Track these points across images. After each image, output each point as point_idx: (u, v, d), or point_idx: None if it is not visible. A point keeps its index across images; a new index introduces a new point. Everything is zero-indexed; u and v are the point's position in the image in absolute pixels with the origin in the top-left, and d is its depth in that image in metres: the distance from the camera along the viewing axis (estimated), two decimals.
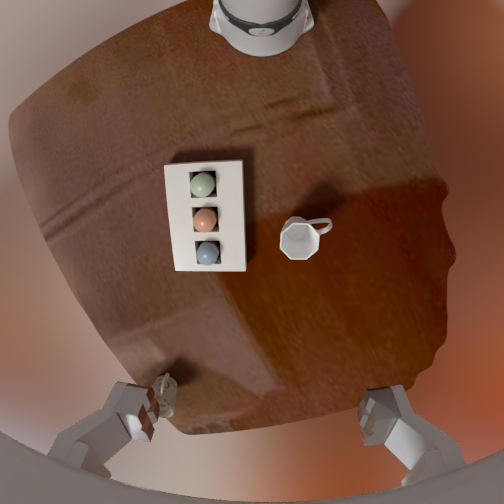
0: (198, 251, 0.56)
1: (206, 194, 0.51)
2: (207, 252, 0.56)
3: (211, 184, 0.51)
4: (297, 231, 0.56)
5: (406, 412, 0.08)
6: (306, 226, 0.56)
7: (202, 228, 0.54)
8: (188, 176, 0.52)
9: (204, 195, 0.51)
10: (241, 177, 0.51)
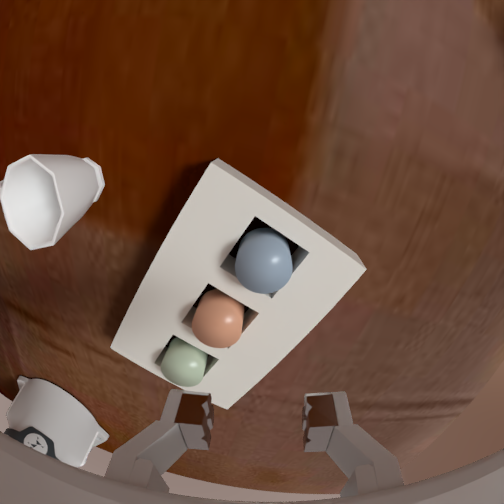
0: (273, 288, 0.22)
1: (180, 359, 0.25)
2: (255, 274, 0.21)
3: (163, 364, 0.25)
4: None
5: (344, 421, 0.08)
6: None
7: (228, 321, 0.23)
8: None
9: (184, 360, 0.25)
10: (119, 331, 0.26)
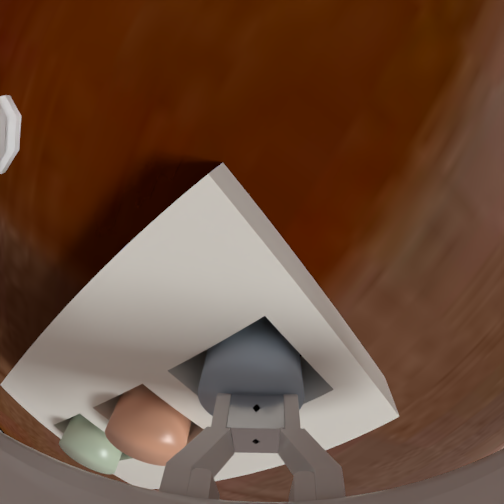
0: None
1: (86, 449, 0.13)
2: None
3: (62, 442, 0.13)
4: None
5: (291, 424, 0.08)
6: None
7: (165, 447, 0.11)
8: None
9: (91, 452, 0.13)
10: (10, 375, 0.13)
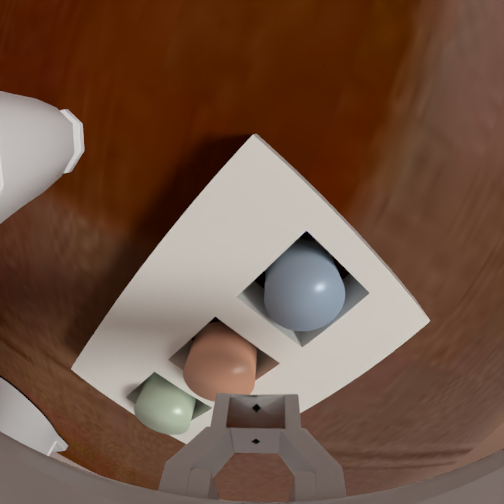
0: (312, 325, 0.15)
1: (161, 405, 0.17)
2: (292, 304, 0.15)
3: (137, 406, 0.17)
4: None
5: (291, 424, 0.08)
6: None
7: (238, 374, 0.15)
8: None
9: (167, 407, 0.17)
10: (83, 353, 0.18)
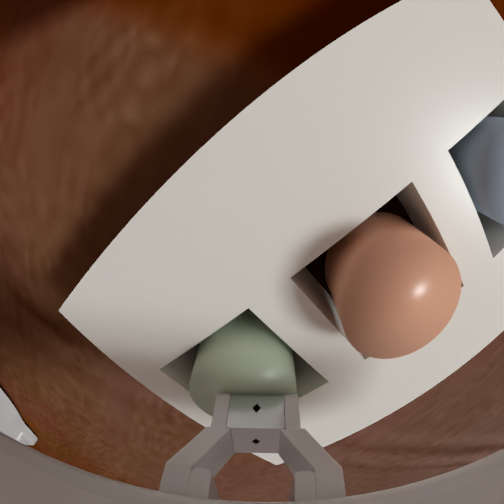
0: None
1: (259, 365, 0.10)
2: None
3: (203, 370, 0.10)
4: None
5: (291, 424, 0.08)
6: None
7: (444, 290, 0.08)
8: None
9: (270, 369, 0.10)
10: (92, 272, 0.10)
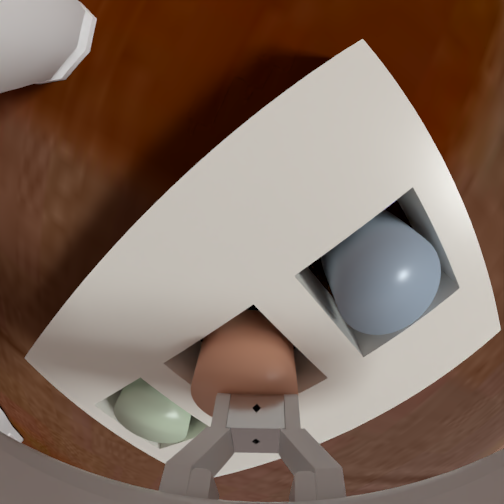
0: (389, 327, 0.10)
1: (154, 407, 0.12)
2: (374, 294, 0.09)
3: (120, 404, 0.13)
4: None
5: (291, 424, 0.08)
6: None
7: (277, 388, 0.10)
8: (170, 447, 0.14)
9: (161, 410, 0.12)
10: (41, 339, 0.12)
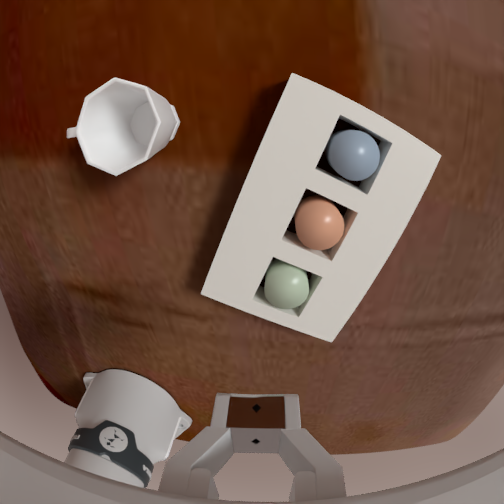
0: (367, 173, 0.22)
1: (285, 273, 0.26)
2: (350, 161, 0.22)
3: (267, 285, 0.27)
4: (151, 117, 0.23)
5: (291, 424, 0.08)
6: (132, 123, 0.24)
7: (331, 216, 0.24)
8: (304, 311, 0.28)
9: (290, 273, 0.26)
10: (211, 269, 0.27)
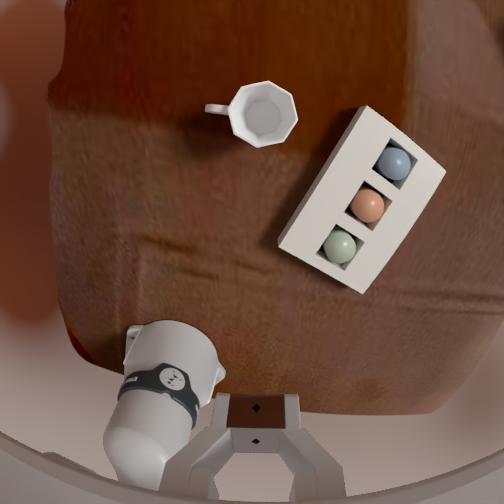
0: (401, 176, 0.33)
1: (342, 236, 0.37)
2: (392, 167, 0.33)
3: (328, 243, 0.37)
4: (263, 112, 0.33)
5: (291, 424, 0.08)
6: (247, 112, 0.33)
7: (377, 200, 0.35)
8: (348, 266, 0.39)
9: (345, 236, 0.37)
10: (291, 228, 0.37)
